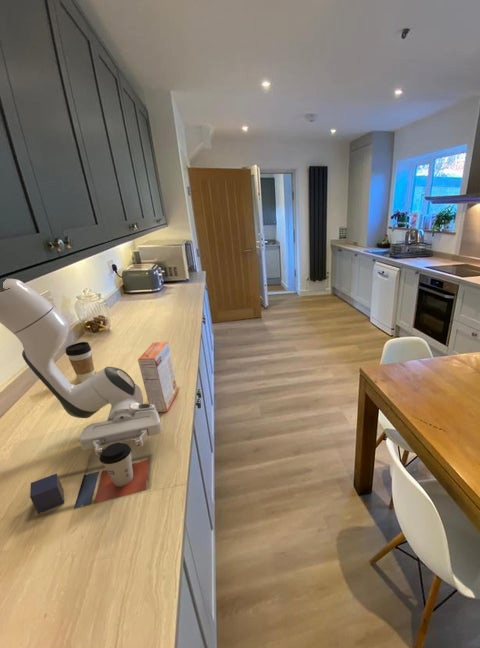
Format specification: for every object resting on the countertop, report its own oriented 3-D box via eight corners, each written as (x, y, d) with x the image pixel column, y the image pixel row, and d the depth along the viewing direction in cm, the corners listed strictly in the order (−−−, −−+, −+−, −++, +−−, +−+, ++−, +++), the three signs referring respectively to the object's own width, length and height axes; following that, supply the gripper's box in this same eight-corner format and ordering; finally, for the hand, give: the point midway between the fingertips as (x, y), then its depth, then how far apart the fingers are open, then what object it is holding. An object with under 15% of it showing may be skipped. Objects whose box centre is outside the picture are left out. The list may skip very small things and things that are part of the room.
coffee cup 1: (101, 378, 133) (92, 345, 127) (78, 386, 128) (67, 351, 121) (95, 371, 139) (85, 339, 132) (72, 378, 133) (61, 345, 127)
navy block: (39, 516, 73) (29, 497, 71) (39, 501, 77) (30, 482, 75) (65, 505, 76) (57, 486, 74) (64, 491, 80) (56, 473, 77)
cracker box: (162, 392, 124) (152, 341, 115) (178, 391, 124) (169, 341, 115) (149, 413, 111) (136, 358, 102) (167, 412, 111) (156, 358, 102)
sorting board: (32, 523, 73) (31, 521, 72) (48, 484, 83) (47, 482, 82) (147, 492, 80) (147, 490, 80) (149, 460, 91) (149, 458, 90)
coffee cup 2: (136, 465, 88) (128, 436, 84) (140, 482, 82) (131, 452, 78) (107, 476, 84) (97, 446, 80) (109, 494, 79) (98, 463, 75)
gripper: (81, 417, 91) (69, 448, 79) (159, 402, 98) (158, 429, 86) (88, 435, 94) (76, 468, 82) (163, 419, 100) (162, 448, 89)
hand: (119, 448), depth 84 cm, fingers open, 8 cm apart
